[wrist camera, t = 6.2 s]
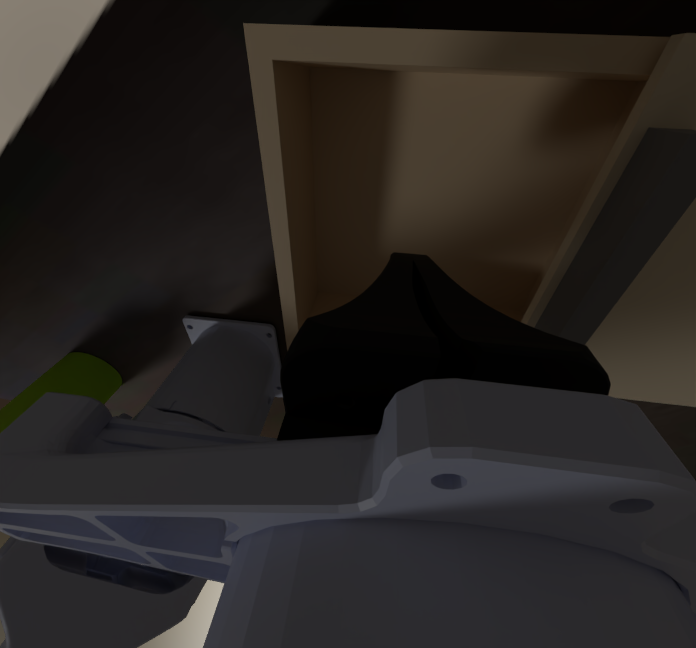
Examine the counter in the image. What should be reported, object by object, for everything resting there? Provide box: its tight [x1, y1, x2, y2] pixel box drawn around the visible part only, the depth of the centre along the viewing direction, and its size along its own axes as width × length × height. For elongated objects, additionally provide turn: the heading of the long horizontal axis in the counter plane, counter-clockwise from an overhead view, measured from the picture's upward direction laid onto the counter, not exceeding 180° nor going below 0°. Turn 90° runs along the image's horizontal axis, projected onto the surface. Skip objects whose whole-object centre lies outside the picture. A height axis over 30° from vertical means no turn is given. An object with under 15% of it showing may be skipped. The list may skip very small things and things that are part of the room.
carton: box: [243, 23, 670, 351], centre depth 15 cm, size 14×16×6 cm
